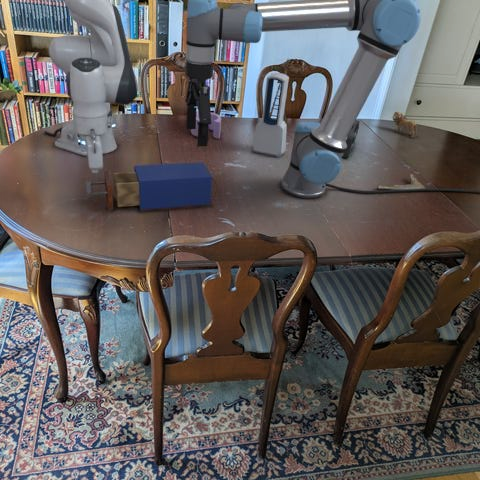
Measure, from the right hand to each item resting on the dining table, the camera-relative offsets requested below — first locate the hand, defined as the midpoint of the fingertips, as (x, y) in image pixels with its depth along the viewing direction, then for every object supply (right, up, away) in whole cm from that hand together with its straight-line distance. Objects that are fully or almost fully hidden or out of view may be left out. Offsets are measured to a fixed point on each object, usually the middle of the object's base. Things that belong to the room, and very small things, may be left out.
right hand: (196, 137), depth 137 cm
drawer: (-20, -18, +5) cm, 28 cm away
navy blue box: (-8, -18, +9) cm, 22 cm away
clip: (-3, +17, +64) cm, 66 cm away
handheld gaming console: (+59, +8, +60) cm, 85 cm away
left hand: (-28, -11, -4) cm, 31 cm away
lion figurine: (+90, +21, +85) cm, 126 cm away
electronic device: (+24, +5, +50) cm, 55 cm away
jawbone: (+70, -10, +35) cm, 79 cm away
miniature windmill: (+29, +21, +77) cm, 85 cm away
